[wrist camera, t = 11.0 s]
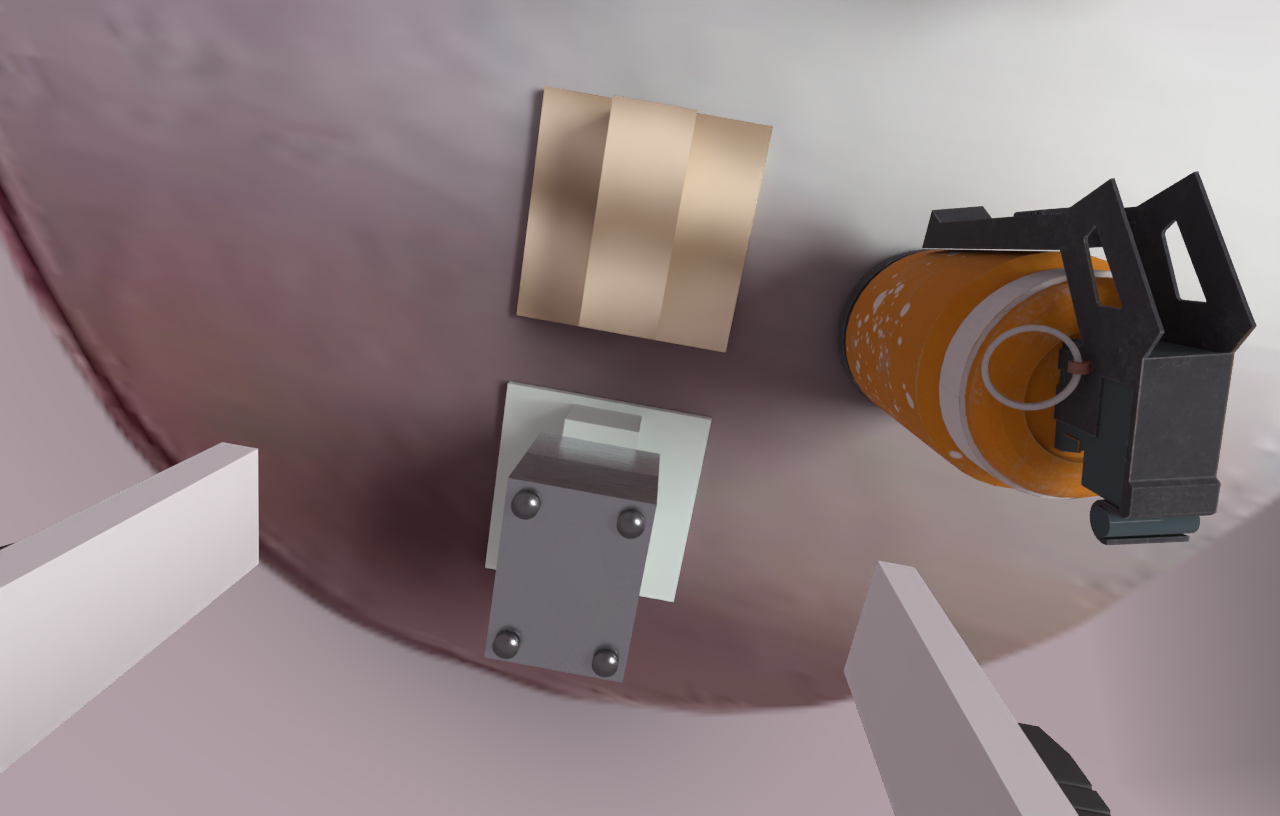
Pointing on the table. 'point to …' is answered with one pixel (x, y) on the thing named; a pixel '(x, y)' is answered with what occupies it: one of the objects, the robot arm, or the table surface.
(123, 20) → the table surface
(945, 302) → the canister
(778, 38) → the table surface
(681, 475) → the stand
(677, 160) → the stand
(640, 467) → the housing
